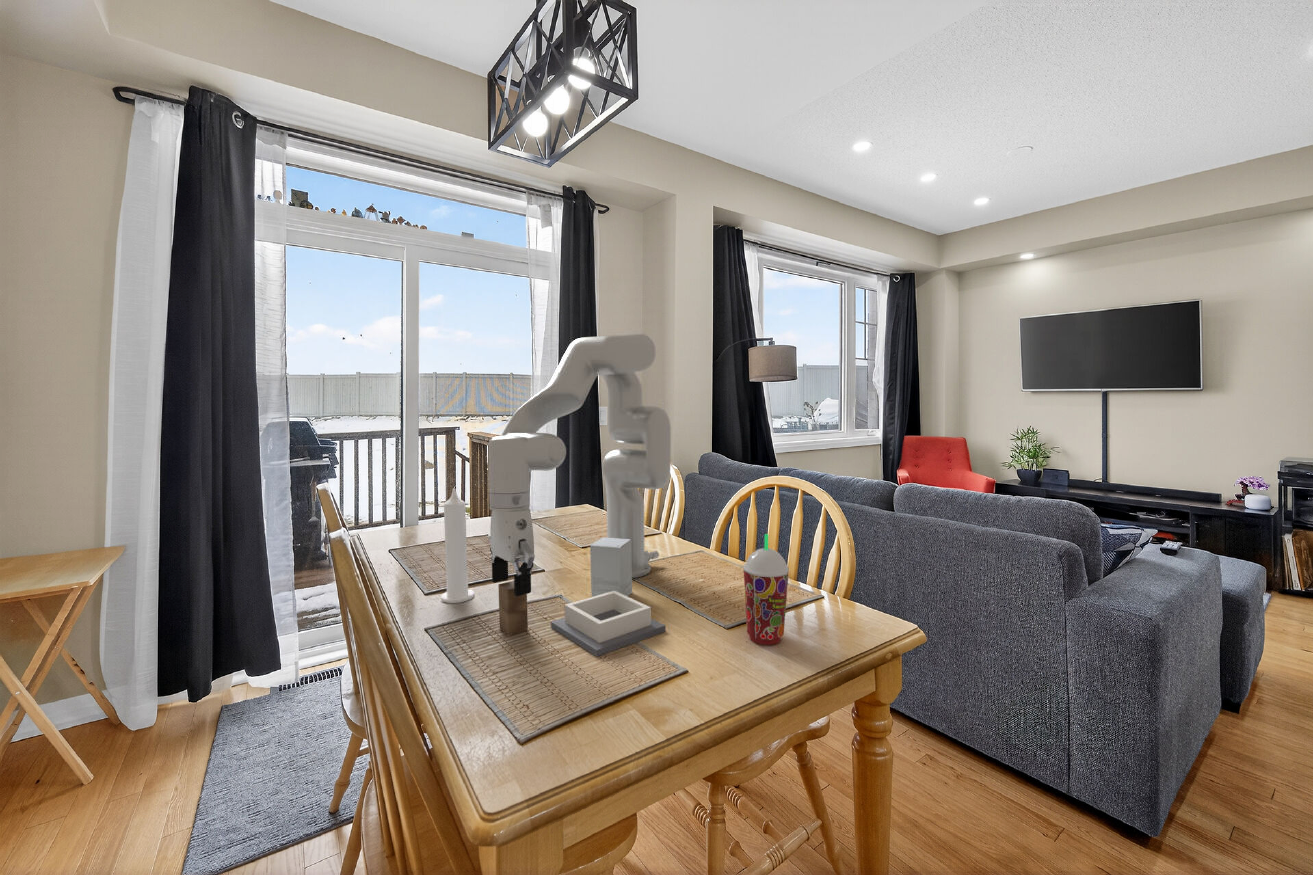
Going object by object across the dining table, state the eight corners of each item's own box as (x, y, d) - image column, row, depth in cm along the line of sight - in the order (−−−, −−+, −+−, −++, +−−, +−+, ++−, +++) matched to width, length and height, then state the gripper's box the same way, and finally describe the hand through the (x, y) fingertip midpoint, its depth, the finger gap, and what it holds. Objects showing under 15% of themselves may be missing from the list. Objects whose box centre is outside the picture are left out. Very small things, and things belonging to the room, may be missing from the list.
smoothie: (778, 653, 100) (780, 542, 98) (735, 642, 104) (736, 536, 103) (794, 635, 107) (795, 532, 105) (752, 626, 111) (753, 526, 110)
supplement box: (633, 592, 130) (632, 538, 129) (620, 604, 123) (620, 547, 122) (603, 588, 133) (603, 536, 132) (590, 600, 126) (589, 544, 125)
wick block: (518, 623, 113) (517, 579, 112) (527, 629, 110) (526, 585, 109) (499, 628, 111) (498, 584, 110) (508, 635, 108) (507, 589, 107)
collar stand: (616, 607, 121) (616, 585, 121) (665, 631, 109) (665, 607, 109) (551, 627, 111) (550, 604, 111) (596, 656, 99) (596, 630, 99)
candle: (463, 604, 123) (459, 491, 121) (434, 602, 125) (430, 490, 123) (480, 593, 130) (476, 486, 128) (452, 590, 132) (448, 485, 130)
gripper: (549, 504, 104) (550, 595, 105) (508, 492, 117) (509, 572, 118) (511, 509, 99) (513, 604, 100) (473, 496, 112) (474, 580, 114)
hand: (511, 587), depth 109 cm, fingers open, 9 cm apart
